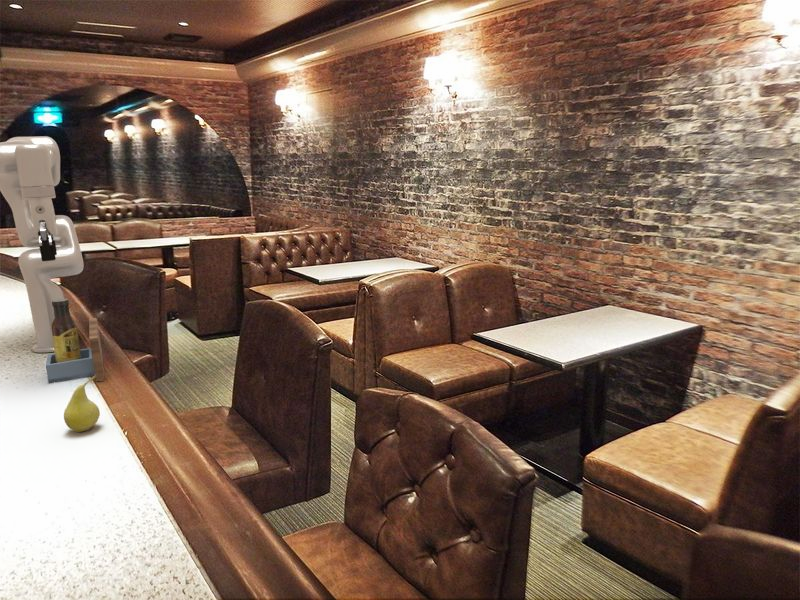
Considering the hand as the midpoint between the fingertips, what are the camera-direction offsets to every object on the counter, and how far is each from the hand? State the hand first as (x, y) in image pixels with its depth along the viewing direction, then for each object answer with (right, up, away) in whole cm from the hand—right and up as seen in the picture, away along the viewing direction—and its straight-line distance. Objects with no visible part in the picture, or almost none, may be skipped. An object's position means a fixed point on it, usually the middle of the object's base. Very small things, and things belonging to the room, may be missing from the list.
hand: (49, 257), depth 169 cm
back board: (+9, -31, +10) cm, 33 cm away
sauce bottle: (+2, -31, +7) cm, 32 cm away
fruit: (+25, -40, -30) cm, 56 cm away
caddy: (+3, -32, +7) cm, 32 cm away
